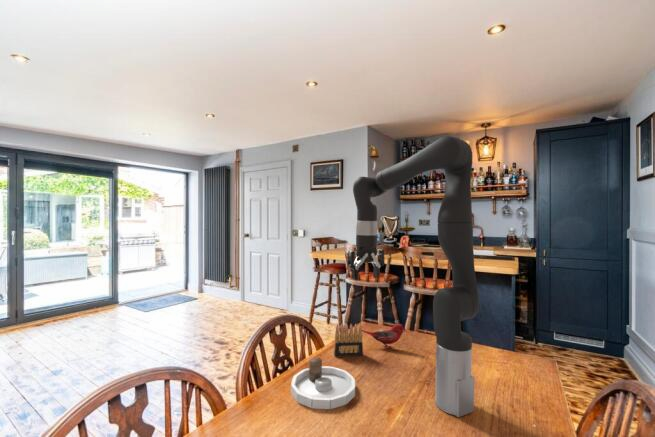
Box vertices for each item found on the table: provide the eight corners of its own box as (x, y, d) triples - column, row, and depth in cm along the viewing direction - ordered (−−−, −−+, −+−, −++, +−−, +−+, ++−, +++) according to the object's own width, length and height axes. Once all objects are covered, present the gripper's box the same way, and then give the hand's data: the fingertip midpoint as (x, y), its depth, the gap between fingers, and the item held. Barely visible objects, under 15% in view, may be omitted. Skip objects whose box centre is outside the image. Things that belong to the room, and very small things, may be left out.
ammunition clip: (361, 353, 122) (362, 322, 122) (362, 355, 121) (363, 324, 120) (334, 354, 121) (334, 323, 121) (334, 356, 119) (335, 324, 119)
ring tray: (367, 398, 93) (367, 389, 93) (306, 416, 84) (307, 406, 84) (335, 369, 110) (335, 361, 110) (283, 381, 101) (283, 374, 101)
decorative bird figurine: (405, 351, 125) (406, 325, 125) (360, 346, 128) (360, 322, 128) (405, 347, 128) (406, 323, 128) (361, 343, 131) (361, 319, 131)
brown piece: (323, 380, 101) (324, 361, 101) (312, 383, 99) (312, 364, 99) (318, 374, 105) (318, 356, 105) (307, 377, 103) (307, 359, 103)
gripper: (355, 234, 107) (354, 283, 107) (389, 233, 114) (388, 279, 114) (344, 233, 114) (343, 278, 114) (376, 232, 120) (376, 275, 121)
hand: (366, 279), depth 114 cm, fingers open, 8 cm apart
